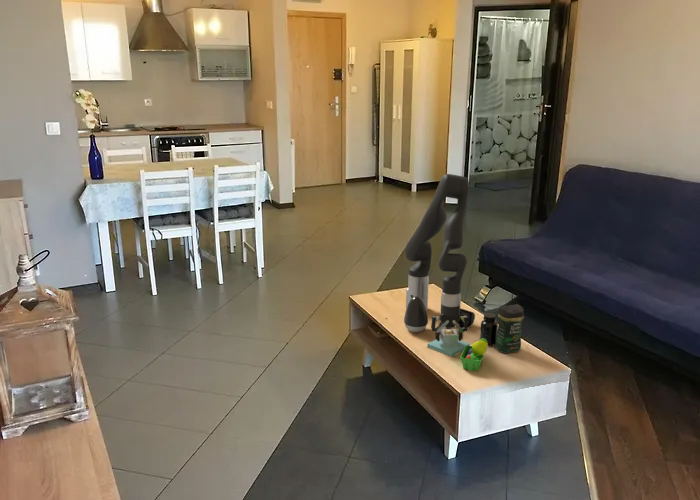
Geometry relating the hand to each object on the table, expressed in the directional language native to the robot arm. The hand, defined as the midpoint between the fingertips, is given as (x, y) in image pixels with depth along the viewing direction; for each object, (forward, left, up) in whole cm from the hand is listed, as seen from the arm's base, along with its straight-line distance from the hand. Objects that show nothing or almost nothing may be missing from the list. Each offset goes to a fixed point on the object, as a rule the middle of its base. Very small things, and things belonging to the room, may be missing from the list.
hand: (448, 340), depth 232 cm
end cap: (-10, +23, -3) cm, 25 cm away
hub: (0, 0, -3) cm, 3 cm away
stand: (-8, +11, -3) cm, 14 cm away
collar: (0, 0, -1) cm, 1 cm away
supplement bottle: (+9, +15, -3) cm, 18 cm away
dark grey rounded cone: (-20, +4, -3) cm, 21 cm away
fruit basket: (+16, -6, -3) cm, 17 cm away
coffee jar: (+18, +15, -3) cm, 24 cm away
